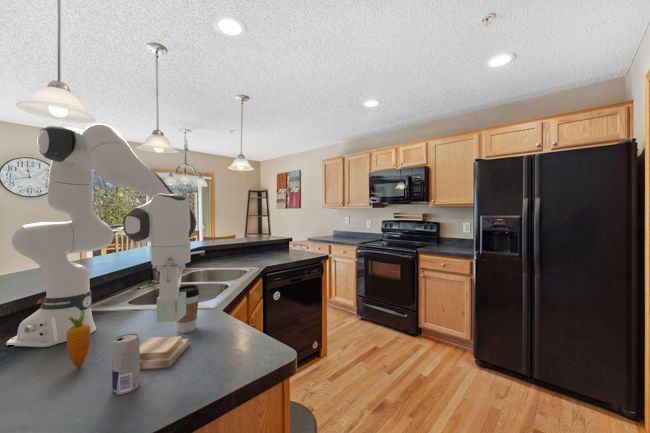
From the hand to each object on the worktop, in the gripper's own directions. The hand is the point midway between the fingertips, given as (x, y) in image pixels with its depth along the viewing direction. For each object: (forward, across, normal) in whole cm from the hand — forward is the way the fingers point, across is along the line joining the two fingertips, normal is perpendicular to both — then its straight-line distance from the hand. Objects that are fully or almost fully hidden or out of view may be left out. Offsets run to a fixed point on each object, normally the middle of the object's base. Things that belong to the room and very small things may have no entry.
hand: (171, 309), depth 72 cm
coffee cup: (+17, +29, -3) cm, 34 cm away
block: (+2, 0, 0) cm, 2 cm away
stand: (+17, +12, +5) cm, 21 cm away
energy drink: (+17, -2, +9) cm, 19 cm away
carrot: (+17, +14, +23) cm, 32 cm away
